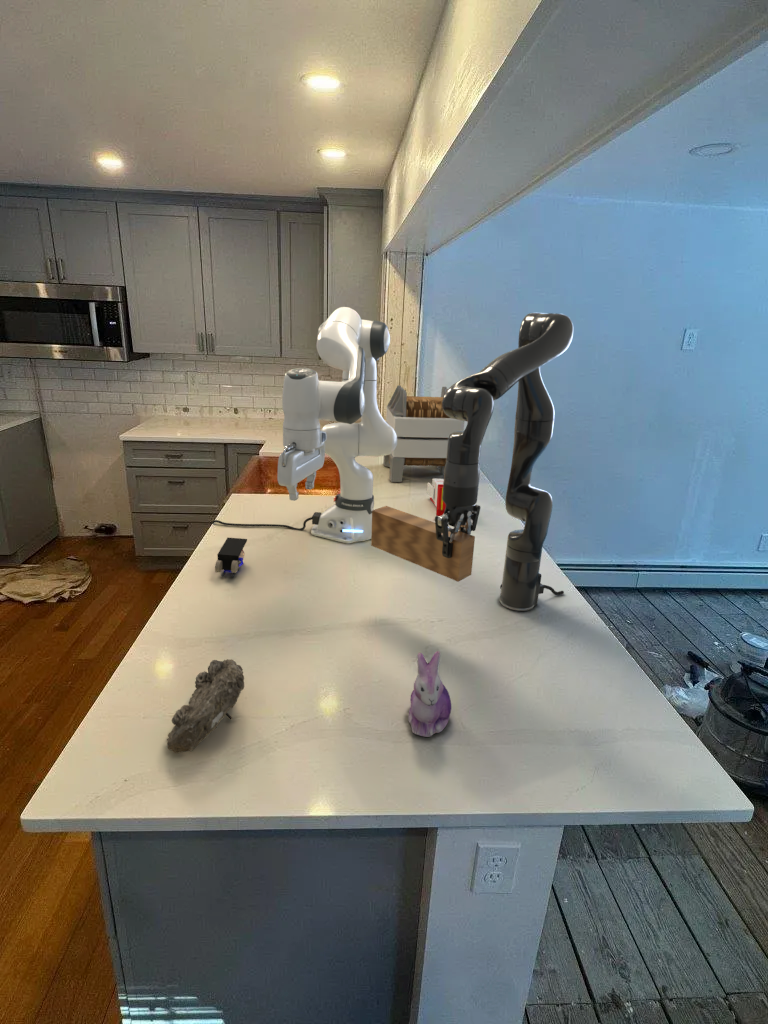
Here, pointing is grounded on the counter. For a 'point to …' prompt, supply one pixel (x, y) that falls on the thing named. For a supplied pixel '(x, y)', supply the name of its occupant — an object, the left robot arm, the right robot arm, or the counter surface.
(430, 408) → the transformer
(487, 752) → the counter surface
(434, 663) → the figurine
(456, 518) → the right robot arm
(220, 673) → the fossil
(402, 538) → the bar
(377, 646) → the counter surface
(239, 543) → the figurine character
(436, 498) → the toy
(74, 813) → the counter surface
